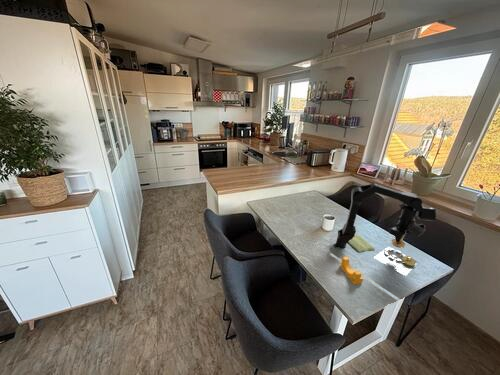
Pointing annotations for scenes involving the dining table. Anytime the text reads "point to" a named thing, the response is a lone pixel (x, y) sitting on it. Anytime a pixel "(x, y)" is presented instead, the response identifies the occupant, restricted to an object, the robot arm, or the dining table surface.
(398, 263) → the carrier plate
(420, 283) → the dining table surface
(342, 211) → the dining table surface
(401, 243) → the bronze flanged knob
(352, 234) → the robot arm
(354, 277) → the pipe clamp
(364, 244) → the washcloth
